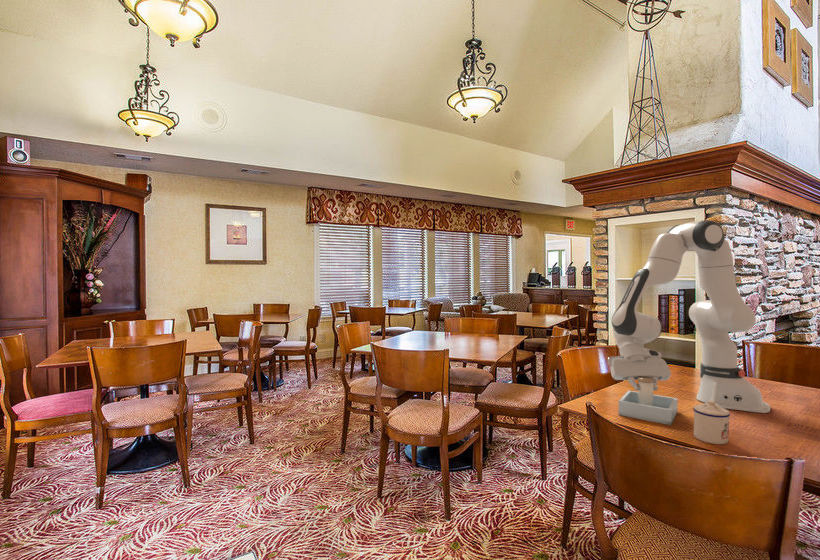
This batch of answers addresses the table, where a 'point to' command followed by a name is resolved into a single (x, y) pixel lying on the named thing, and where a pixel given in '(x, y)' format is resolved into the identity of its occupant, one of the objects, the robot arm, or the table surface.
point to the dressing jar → (645, 390)
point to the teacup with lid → (711, 423)
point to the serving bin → (648, 408)
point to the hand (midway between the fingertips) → (646, 389)
